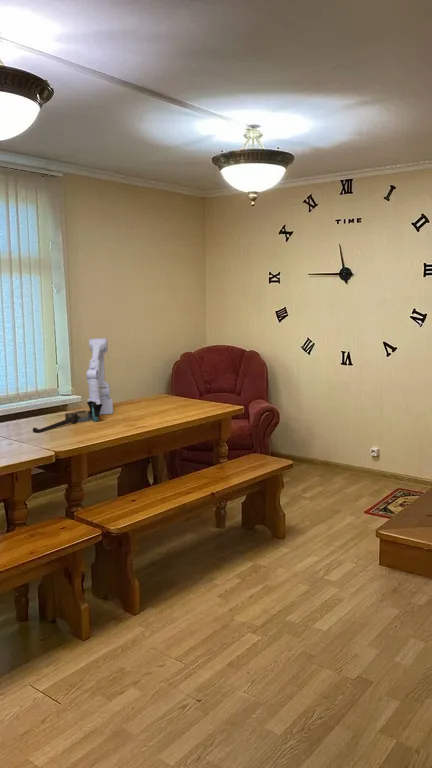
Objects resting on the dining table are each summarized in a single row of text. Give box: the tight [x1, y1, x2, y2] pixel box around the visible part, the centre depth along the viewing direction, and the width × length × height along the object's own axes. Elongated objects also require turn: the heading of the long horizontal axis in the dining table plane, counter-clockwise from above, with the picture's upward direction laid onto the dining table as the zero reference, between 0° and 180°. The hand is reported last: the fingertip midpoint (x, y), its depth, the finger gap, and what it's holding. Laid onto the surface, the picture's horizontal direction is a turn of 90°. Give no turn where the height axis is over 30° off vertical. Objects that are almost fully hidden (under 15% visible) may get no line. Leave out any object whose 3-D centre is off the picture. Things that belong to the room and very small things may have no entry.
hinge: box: [64, 410, 93, 423], centre depth 345 cm, size 18×6×5 cm, turn 117°
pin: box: [91, 403, 99, 423], centre depth 342 cm, size 4×4×10 cm
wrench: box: [32, 414, 81, 434], centre depth 330 cm, size 5×5×30 cm
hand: (95, 415), depth 342 cm, fingers open, 7 cm apart
